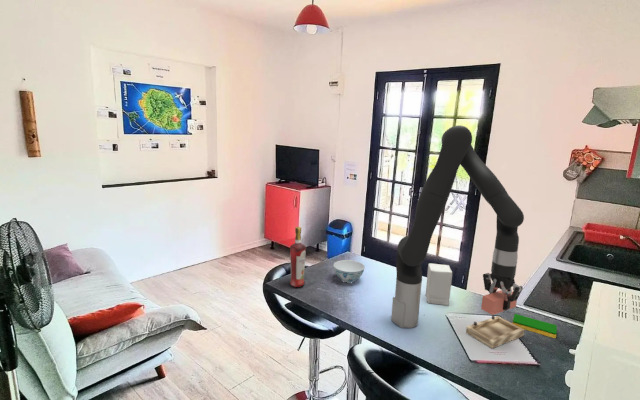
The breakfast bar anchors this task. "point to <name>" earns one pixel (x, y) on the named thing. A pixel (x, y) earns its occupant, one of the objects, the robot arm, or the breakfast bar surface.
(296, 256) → the liquor
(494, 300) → the salmon pink brick
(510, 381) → the breakfast bar surface
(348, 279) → the chinaware
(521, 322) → the dish sponge
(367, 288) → the breakfast bar surface
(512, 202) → the robot arm
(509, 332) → the wooden tray
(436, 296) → the supplement box
